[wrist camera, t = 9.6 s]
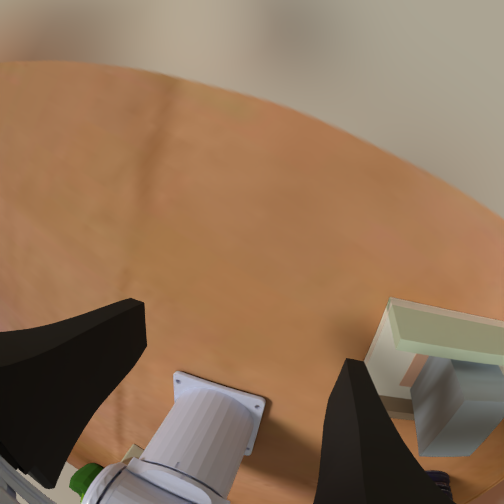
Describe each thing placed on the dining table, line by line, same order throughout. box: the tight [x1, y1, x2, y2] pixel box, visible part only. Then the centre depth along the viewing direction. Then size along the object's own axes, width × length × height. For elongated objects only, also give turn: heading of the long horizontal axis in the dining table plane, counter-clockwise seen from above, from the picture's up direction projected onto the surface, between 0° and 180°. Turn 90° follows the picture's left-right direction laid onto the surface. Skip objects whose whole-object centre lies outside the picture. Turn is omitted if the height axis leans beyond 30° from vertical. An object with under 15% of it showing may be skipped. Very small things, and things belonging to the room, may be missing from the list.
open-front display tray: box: [364, 297, 504, 420], centre depth 16 cm, size 8×12×4 cm, turn 82°
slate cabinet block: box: [410, 356, 504, 457], centre depth 14 cm, size 5×4×6 cm
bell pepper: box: [69, 463, 103, 503], centre depth 38 cm, size 8×8×10 cm
